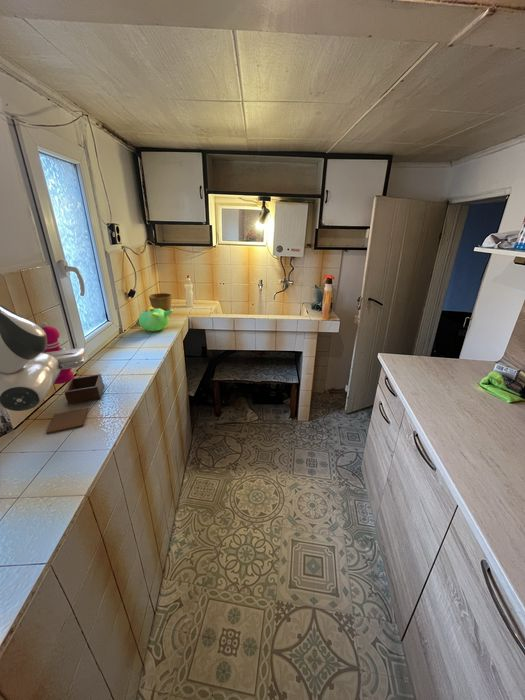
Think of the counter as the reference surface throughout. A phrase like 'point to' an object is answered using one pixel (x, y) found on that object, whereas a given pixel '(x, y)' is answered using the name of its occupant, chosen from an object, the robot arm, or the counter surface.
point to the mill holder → (84, 389)
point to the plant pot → (161, 301)
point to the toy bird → (154, 319)
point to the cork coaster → (68, 420)
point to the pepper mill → (54, 345)
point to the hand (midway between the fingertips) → (53, 351)
